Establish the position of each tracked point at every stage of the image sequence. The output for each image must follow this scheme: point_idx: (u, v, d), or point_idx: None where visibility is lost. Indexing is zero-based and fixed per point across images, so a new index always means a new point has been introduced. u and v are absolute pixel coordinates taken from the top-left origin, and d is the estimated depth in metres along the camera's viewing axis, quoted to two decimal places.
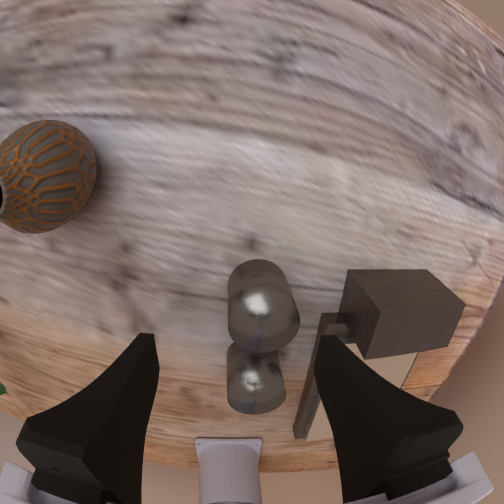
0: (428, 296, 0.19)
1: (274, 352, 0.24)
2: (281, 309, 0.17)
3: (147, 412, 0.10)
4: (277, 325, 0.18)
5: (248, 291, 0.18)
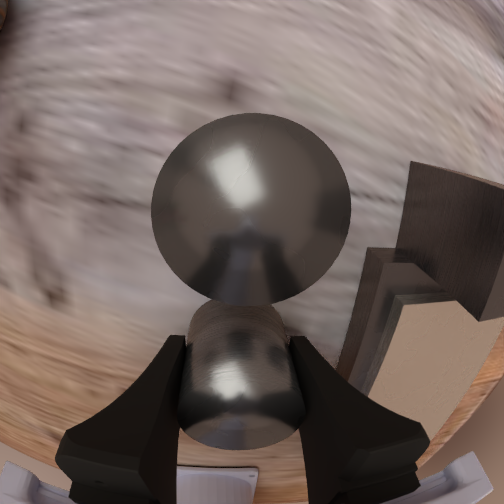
0: None
1: (279, 325, 0.12)
2: (299, 163, 0.06)
3: None
4: (292, 218, 0.06)
5: None
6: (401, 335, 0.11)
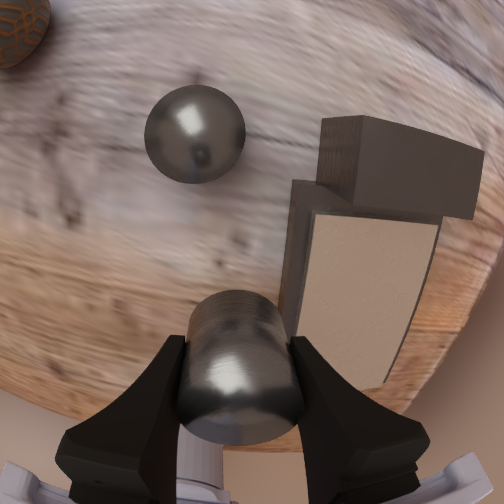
0: None
1: (278, 320, 0.12)
2: (216, 107, 0.12)
3: None
4: (212, 133, 0.12)
5: None
6: (319, 241, 0.17)
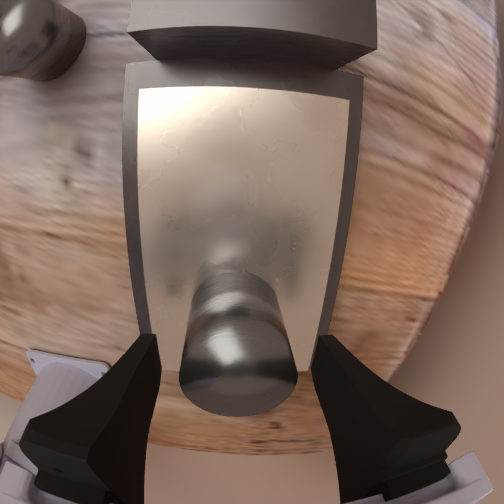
0: None
1: (271, 296, 0.13)
2: (22, 0, 0.06)
3: (149, 412, 0.10)
4: (15, 22, 0.06)
5: None
6: (147, 124, 0.11)
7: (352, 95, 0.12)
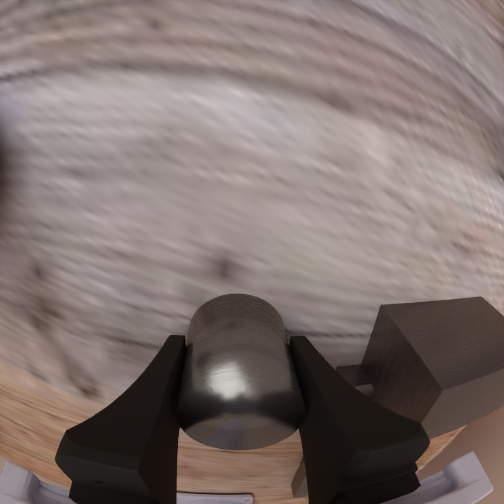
0: (497, 345, 0.10)
1: None
2: (270, 399, 0.09)
3: None
4: (266, 420, 0.09)
5: (210, 365, 0.09)
6: None
7: None
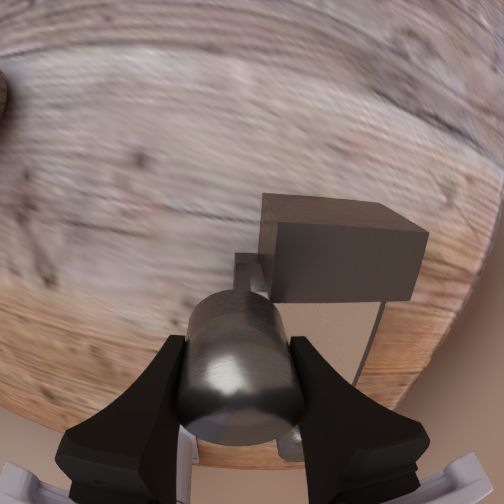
0: (369, 219, 0.14)
1: None
2: (268, 393, 0.09)
3: None
4: (264, 414, 0.09)
5: (207, 360, 0.09)
6: None
7: None
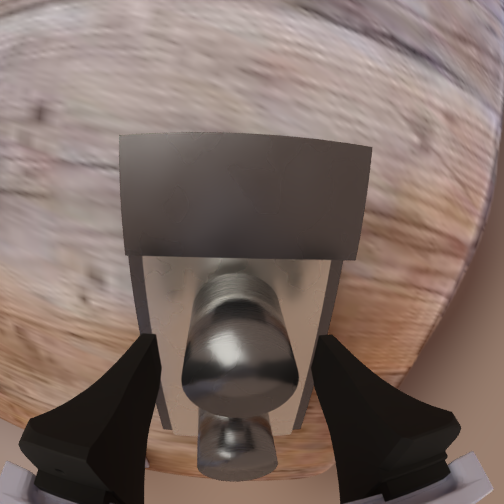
0: None
1: None
2: (264, 361, 0.10)
3: (149, 412, 0.10)
4: (262, 383, 0.10)
5: (209, 332, 0.10)
6: (153, 284, 0.14)
7: None
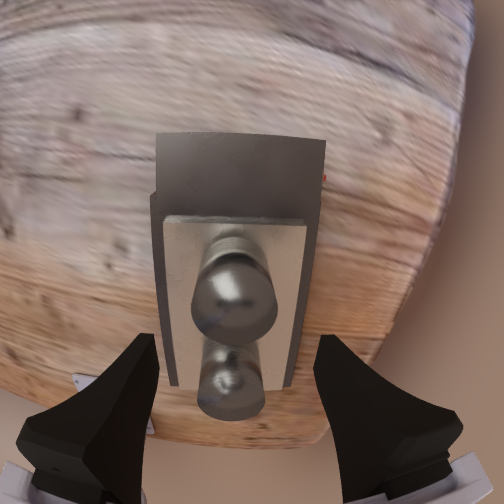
0: None
1: (247, 345, 0.21)
2: (251, 290, 0.14)
3: (147, 412, 0.10)
4: (250, 310, 0.15)
5: (211, 270, 0.15)
6: (171, 246, 0.19)
7: None
